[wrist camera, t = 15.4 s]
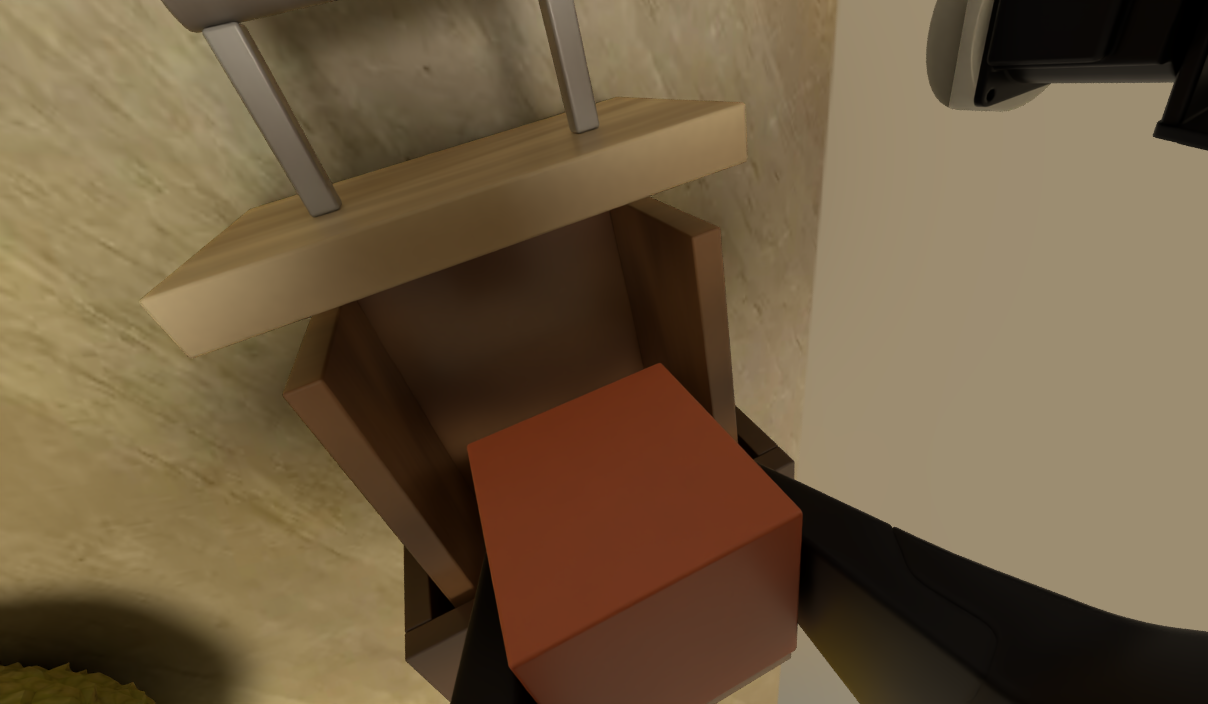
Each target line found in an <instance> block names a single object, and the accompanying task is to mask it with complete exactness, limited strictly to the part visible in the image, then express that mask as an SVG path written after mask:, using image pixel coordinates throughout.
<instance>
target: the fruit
mask: <svg viewBox="0 0 1208 704" xmlns="http://www.w3.org/2000/svg"><path fill="white" fill-rule="evenodd" d="M0 704H156V703H155V701H154V700H153V699H151V698H149V697H148V696H146V695H145V691H139V690H138V689H137V687H136V686H135V684H134V683H133V682H131V683H129V684H127V685H121V684H119V683H118V682H117V681H115V680H113V679H112V678H110V677H109V676H106V675H104V674H102V673H100V672H98V673H91V674H87V670H84V671H80V672H77V673H75V672H72V670H71V669H70V666H69V663H67V664H64V665H62V666H59V667H56V668H54V669H51V670H47V669H44V668H42V667H39V666H37V665H36V666H33V667H31V666H28V667H25V668H23V666H22V665H21V664H20V663H19V662H18V663H14V664H11V665H8V666H2V665H0Z"/></svg>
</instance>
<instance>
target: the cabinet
mask: <svg viewBox="0 0 1208 704" xmlns="http://www.w3.org/2000/svg"><path fill="white" fill-rule="evenodd" d="M735 413H736V425H737V437H738V444H739V445H740V446H741V447H742V449H743V450H744V451H745V452H746V453H747V454H748V455H749V456H750V457H751V458H752V459H753V460H754V461H756V462H758V463H760V464H762V465H764V466H766V467H769V468H771V469H773V470H775V471H777V472H779V473H781V474H783V475H786V476H788V477H790V478H792V479H794V461H793V460H792V459H791V458H790V457H789V456H788V455H787V454H786V453H785V452H784V451H783V450H782V449H781V448H780V447H778V445H777V444H776V443H775V442H774V441H773V440H771V439H770V438H769V437H768V436H767V435H766V434H765V433H764V432H763V431H762V430H761V429H760V428H759V427H758V426H757V425H756V424H754V423H753V422H752V421H751V420H750V419H749V418H748V417H747V416H746V415H745V414H744V413H743V412H742V411H741V410H740V409H739V408H737V407H736V406H735ZM404 600H405V633H406V634H405V660H406V662H407V663H409V664H410V665H411V666H412V667H413V668H414V669H415V670H416V671H417V672H418V673H419V674H420V675H421V676H423V677H424V678H425V679H426V680H427V681H428V682H429V683H430V684H431V685H432V686H433V687H434V688H435V689H437V690H438V691H439V692H440V693H441V694H442V695H443V696H444V697H445V698H446V699H447V700H448V701H450V702H451V698H452V693H453V689H454V685H455V681H456V676H457V672H458V668H459V663H460V659H461V655H462V650H463V646H464V642H465V637H466V633H467V629H468V625H469V620H470V616H471V612H472V607H473V603H474V599H473V600H471V601H469V602H467V603H465V604H463V605H461V606H459V607H457V608H455V607H454V606H453V605H452V603H451V602H450V601H449V600H448V598H447V597H446V596H445V595H444V594H443V592H442V591H441V590H440V589H439V587H438V586H437V585H436V584H435V582H434V581H433V580H432V579H431V578H430V576H429V575H428V574H427V573H426V571H425V570H424V569H423V568H422V567H421V565H420V564H419V563H418V562H417V560H416V559H415V558H414V557H413V555H412V554H411V553H410V552H409V551H408V549H407V548H406V547H405V546H404ZM790 658H791V653H790V654H788V655H786V656H785V657H783V658H781V659H780V660H778V661H776V662H775V663H773V664H771V665H770V666H768V667H766V668H765V669H763V670H761V671H760V672H758V673H756V674H755V675H753V676H751V677H750V678H748V679H746V680H745V681H743V682H741V683H740V684H738V685H736V686H735V687H733V688H731V689H730V690H728V691H726V692H725V693H723V694H721V695H720V696H718V697H716V698H715V699H713V700H711V701H710V702H708V703H706V704H716V703H718V702H719V701H721V700H723V699H724V698H726V697H728V696H729V695H731V694H733V693H734V692H736V691H737V690H739V689H741V688H742V687H744V686H746V685H747V684H749V683H751V682H752V681H754V680H756V679H757V678H759V677H760V676H762V675H764V674H765V673H767V672H769V671H770V670H772V669H774V668H775V667H777V666H779V665H780V664H782V663H784V662H785V661H787V660H788V659H790Z"/></svg>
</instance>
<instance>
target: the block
mask: <svg viewBox="0 0 1208 704" xmlns="http://www.w3.org/2000/svg"><path fill="white" fill-rule="evenodd" d="M467 452H468V457H469V462H470V467H471V472H472V478H473V483H474V488H475V493H476V499H477V504H478V509H479V514H480V520H481V525H482V530H483V535H484V541H485V546H486V551H487V556H488V562H489V567H490V572H491V577H492V582H493V588H494V593H495V598H496V603H497V609H498V614H499V619H500V624H501V630H502V635H503V640H504V645H505V651H506V656H507V661H508V666H509V668H510V669H511V671H512V672H513V673H514V674H515V676H516V677H517V678H518V680H519V681H520V682H521V683H522V685H523V686H524V687H525V689H526V690H527V691H528V692H529V694H530V695H531V696H532V697H533V699H534V700H535V701H536V703H537V704H706V703H708V702H710V701H711V700H713V699H715V698H716V697H718V696H720V695H721V694H723V693H725V692H726V691H728V690H730V689H731V688H733V687H735V686H736V685H738V684H740V683H741V682H743V681H745V680H746V679H748V678H750V677H751V676H753V675H755V674H756V673H758V672H760V671H761V670H763V669H765V668H766V667H768V666H770V665H771V664H773V663H775V662H776V661H778V660H780V659H781V658H783V657H785V656H786V655H788V654H790V653H791V652H793V651H795V649H796V648H797V625H798V605H799V584H800V562H801V541H802V519H803V514H802V511H801V510H800V508H799V507H798V506H797V505H796V504H795V503H794V502H793V501H792V500H791V499H790V498H789V497H788V496H787V495H786V494H785V493H784V492H783V491H782V489H781V488H780V487H779V486H778V485H777V484H776V483H775V482H774V481H773V480H772V479H771V478H770V477H769V476H768V475H767V474H766V473H765V472H764V471H763V470H762V468H761V467H760V466H759V465H758V464H757V463H756V462H755V461H754V460H753V459H752V458H751V457H750V456H749V455H748V454H747V453H746V452H745V451H744V450H743V449H742V447H741V446H740V445H739V444H738V443H737V442H736V441H735V440H734V439H733V438H732V437H731V436H730V435H729V434H728V433H727V432H726V431H725V430H724V429H723V428H722V426H721V425H720V424H719V423H718V422H717V421H716V420H715V419H714V418H713V417H712V416H711V415H710V414H709V413H708V412H707V411H706V410H705V409H704V408H703V407H702V405H701V404H700V403H699V402H698V401H697V400H696V399H695V398H694V397H693V396H692V395H691V394H690V393H689V392H688V391H687V390H686V389H685V388H684V387H683V386H682V384H681V383H680V382H679V381H678V380H677V379H676V378H675V377H674V376H673V375H672V374H671V373H670V372H669V371H668V370H667V369H666V368H665V367H664V366H663V365H662V363H657V364H655V365H653V366H650V367H648V368H646V369H643V370H641V371H639V372H636V373H634V374H632V375H629V376H627V377H624V378H622V379H620V380H617V381H615V382H613V383H610V384H608V385H606V386H603V387H601V388H599V389H596V390H594V391H592V392H589V393H587V394H585V395H582V396H580V397H578V398H575V399H573V400H571V401H568V402H566V403H564V404H561V405H559V406H557V407H554V408H552V409H550V410H547V411H545V412H542V413H540V414H538V415H535V416H533V417H531V418H528V419H526V420H524V421H521V422H519V423H517V424H514V425H512V426H510V427H507V428H505V429H503V430H500V431H498V432H496V433H493V434H491V435H489V436H486V437H484V438H482V439H479V440H477V441H475V442H472V443H470V444H468V445H467Z"/></svg>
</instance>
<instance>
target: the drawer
mask: <svg viewBox="0 0 1208 704" xmlns="http://www.w3.org/2000/svg"><path fill="white" fill-rule="evenodd" d="M161 1H162V2H163V4H164V5H165V6H166V8H167V9H168V10H169V11H170V12H171V14H172V15H173V16H174V17H175V18H176V19H177V20H178V21H179V22H180V23H181V24H182V25H183V26H184V27H185V28H186V29H188V30H189V31H191V32H195V33H199V32H202V33H203V36H204V37H205V39H206V41H207V42H208V44H209V46H210V47H211V49H212V51H213V52H214V54H215V56H216V58H217V59H218V61H219V63H220V64H221V66H222V68H223V69H224V71H225V73H226V74H227V76H228V78H229V79H230V81H231V83H232V84H233V86H234V88H235V89H236V91H237V93H238V94H239V96H240V98H241V100H242V101H243V103H244V105H245V106H246V108H247V110H248V111H249V113H250V115H251V116H252V118H253V120H254V121H255V123H256V125H257V126H258V128H259V130H260V131H261V133H262V135H263V136H264V138H265V140H266V142H267V143H268V145H269V147H270V148H271V150H272V152H273V153H274V155H275V157H276V158H277V160H278V162H279V163H280V165H281V167H282V168H283V170H284V172H285V173H286V175H287V177H288V178H289V180H290V182H291V184H292V185H293V187H294V189H295V190H296V192H297V195H294V196H291V197H288V198H284V199H281V200H278V201H274V202H271V203H268V204H265V205H261V206H258V207H255V208H252V209H249V210H248V211H247V212H246V213H245V214H243V215H242V216H241V217H240V218H238V219H237V220H236V221H235V222H234V223H232V224H231V225H230V226H229V227H228V228H226V229H225V230H224V231H223V232H221V233H220V234H219V235H218V236H217V237H215V238H214V239H213V240H212V241H211V242H209V243H208V244H207V245H206V246H204V247H203V248H202V249H201V250H200V251H198V252H197V253H196V254H195V255H193V256H192V257H191V258H190V259H189V260H187V261H186V262H185V263H184V264H183V265H181V266H180V267H179V268H178V269H176V270H175V271H174V272H173V273H172V274H170V275H169V276H168V277H167V278H166V279H164V280H163V281H162V282H161V283H159V284H158V285H157V286H156V287H155V288H153V289H152V290H151V291H150V292H149V293H147V294H146V295H145V296H144V297H142V298H141V299H140V300H139V302H140V305H141V306H142V307H143V308H144V309H145V310H146V311H147V312H148V314H149V315H150V316H151V317H152V318H153V319H154V320H155V321H156V322H157V323H158V324H159V326H160V327H161V328H162V329H163V330H164V331H165V332H166V333H167V334H168V335H169V337H170V338H171V339H172V340H173V341H174V342H175V343H176V344H177V345H178V346H179V348H180V349H181V350H182V351H183V352H184V353H185V354H186V355H187V356H188V357H189V358H196V357H199V356H201V355H204V354H207V353H210V352H213V351H215V350H218V349H221V348H224V347H227V346H229V345H232V344H235V343H238V342H241V341H244V340H246V339H249V338H252V337H255V336H258V335H260V334H263V333H266V332H269V331H272V330H274V329H277V328H280V327H283V326H286V325H289V324H291V323H294V322H297V321H300V320H303V319H305V318H308V317H311V316H312V317H311V319H310V322H309V325H308V327H307V330H306V333H305V335H304V338H303V341H302V343H301V346H300V349H299V351H298V354H297V357H296V359H295V362H294V365H293V367H292V370H291V373H290V375H289V378H288V381H287V383H286V386H285V389H284V391H283V397H284V398H285V400H286V401H287V402H288V403H289V405H290V406H291V407H292V408H293V409H294V411H295V412H296V413H297V414H298V416H299V417H300V418H301V419H302V421H303V422H304V423H305V424H306V425H307V427H308V428H309V429H310V430H311V432H312V433H313V434H314V435H315V436H316V438H317V439H318V440H319V441H320V443H321V444H322V445H323V446H324V448H325V449H326V450H327V451H328V452H329V454H330V455H331V456H332V457H333V459H334V460H335V461H336V462H337V463H338V465H339V466H340V467H341V468H342V470H343V471H344V472H345V473H346V475H347V476H348V477H349V478H350V479H351V481H352V482H353V483H354V484H355V486H356V487H357V488H358V489H359V490H360V492H361V493H362V494H363V495H364V497H365V498H366V499H367V500H368V502H369V503H370V504H371V505H372V506H373V508H374V509H375V510H376V511H377V513H378V514H379V515H380V516H381V517H382V519H383V520H384V521H385V522H386V524H387V525H388V526H389V527H390V528H391V530H392V531H393V532H394V533H395V535H396V536H397V537H398V538H399V540H400V541H401V542H402V543H403V544H404V546H405V547H406V548H407V549H408V551H409V552H410V553H411V554H412V555H413V557H414V558H415V559H416V560H417V562H418V563H419V564H420V565H421V567H422V568H423V569H424V570H425V571H426V573H427V574H428V575H429V576H430V578H431V579H432V580H433V581H434V582H435V584H436V585H437V586H438V587H439V589H440V590H441V591H442V592H443V594H444V595H445V596H446V597H447V598H448V600H449V601H450V602H451V603H452V605H453V606H454V607H455V608H457V607H459V606H461V605H463V604H465V603H467V602H469V601H471V600H473V599H475V594H476V590H477V586H478V581H479V577H480V573H481V569H482V564H483V560H484V556H485V553H486V546H485V541H484V535H483V530H482V525H481V520H480V514H479V509H478V504H477V499H476V493H475V488H474V483H473V478H472V472H471V467H470V462H469V457H468V452H467V445H468V444H470V443H472V442H475V441H477V440H479V439H482V438H484V437H486V436H489V435H491V434H493V433H496V432H498V431H500V430H503V429H505V428H507V427H510V426H512V425H514V424H517V423H519V422H521V421H524V420H526V419H528V418H531V417H533V416H535V415H538V414H540V413H542V412H545V411H547V410H550V409H552V408H554V407H557V406H559V405H561V404H564V403H566V402H568V401H571V400H573V399H575V398H578V397H580V396H582V395H585V394H587V393H589V392H592V391H594V390H596V389H599V388H601V387H603V386H606V385H608V384H610V383H613V382H615V381H617V380H620V379H622V378H624V377H627V376H629V375H632V374H634V373H636V372H639V371H641V370H643V369H646V368H648V367H650V366H653V365H655V364H657V363H662V365H663V366H664V367H665V368H666V369H667V370H668V371H669V372H670V373H671V374H672V375H673V376H674V377H675V378H676V379H677V380H678V381H679V382H680V383H681V384H682V386H683V387H684V388H685V389H686V390H687V391H688V392H689V393H690V394H691V395H692V396H693V397H694V398H695V399H696V400H697V401H698V402H699V403H700V404H701V405H702V407H703V408H704V409H705V410H706V411H707V412H708V413H709V414H710V415H711V416H712V417H713V418H714V419H715V420H716V421H717V422H718V423H719V424H720V425H721V426H722V428H723V429H724V430H725V431H726V432H727V433H728V434H729V435H730V436H731V437H732V438H733V439H734V440H735V441H736V442H737V443H738V437H737V425H736V413H735V401H734V389H733V377H732V364H731V352H730V340H729V328H728V316H727V304H726V291H725V279H724V267H723V255H722V243H721V231H720V228H719V227H718V226H715V225H713V224H711V223H708V222H706V221H704V220H702V219H699V218H697V217H695V216H692V215H690V214H688V213H685V212H683V211H681V210H679V209H676V208H674V207H672V206H669V205H667V204H665V203H662V202H660V201H658V200H656V199H653V198H651V197H649V196H651V195H654V194H657V193H660V192H663V191H665V190H668V189H671V188H674V187H677V186H679V185H682V184H685V183H688V182H691V181H693V180H696V179H699V178H702V177H705V176H708V175H710V174H713V173H716V172H719V171H722V170H724V169H727V168H730V167H733V166H736V165H738V164H741V163H744V162H746V161H747V159H748V153H747V130H746V107H745V104H744V103H742V102H722V101H699V100H675V99H652V98H629V97H615V98H612V99H609V100H605V101H602V102H599V103H595V101H594V96H593V91H592V86H591V81H590V77H589V72H588V67H587V62H586V57H585V53H584V48H583V43H582V38H581V33H580V29H579V24H578V19H577V14H576V10H575V5H574V0H539V5H540V9H541V13H542V17H543V21H544V25H545V29H546V33H547V37H548V42H549V46H550V50H551V54H552V58H553V62H554V66H555V70H556V74H557V79H558V83H559V87H560V91H561V95H562V99H563V103H564V107H565V111H566V113H563V114H559V115H556V116H553V117H550V118H546V119H543V120H540V121H536V122H533V123H530V124H527V125H523V126H520V127H517V128H514V129H510V130H507V131H504V132H500V133H497V134H494V135H491V136H487V137H484V138H481V139H478V140H474V141H471V142H468V143H464V144H461V145H458V146H455V147H451V148H448V149H445V150H441V151H438V152H435V153H432V154H428V155H425V156H422V157H419V158H415V159H412V160H409V161H405V162H402V163H399V164H396V165H392V166H389V167H386V168H383V169H379V170H376V171H373V172H369V173H366V174H363V175H360V176H356V177H353V178H350V179H347V180H343V181H340V182H337V183H333V184H332V183H331V181H330V179H329V177H328V175H327V174H326V172H325V170H324V168H323V166H322V164H321V163H320V161H319V159H318V157H317V155H316V153H315V152H314V150H313V148H312V146H311V144H310V143H309V141H308V139H307V137H306V135H305V133H304V132H303V130H302V128H301V126H300V124H299V122H298V121H297V119H296V117H295V115H294V113H293V111H292V110H291V108H290V106H289V104H288V102H287V100H286V99H285V97H284V95H283V93H282V91H281V89H280V88H279V86H278V84H277V82H276V80H275V78H274V77H273V75H272V73H271V71H270V69H269V67H268V66H267V64H266V62H265V60H264V58H263V57H262V55H261V53H260V51H259V49H258V47H257V46H256V44H255V42H254V40H253V38H252V36H251V35H250V33H249V31H248V29H247V28H246V27H245V26H244V25H242V24H239V23H242V22H246V21H251V20H255V19H259V18H264V17H268V16H272V15H276V14H281V13H285V12H289V11H294V10H298V9H302V8H307V7H311V6H315V5H320V4H324V3H328V2H332V1H337V0H161Z"/></svg>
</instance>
